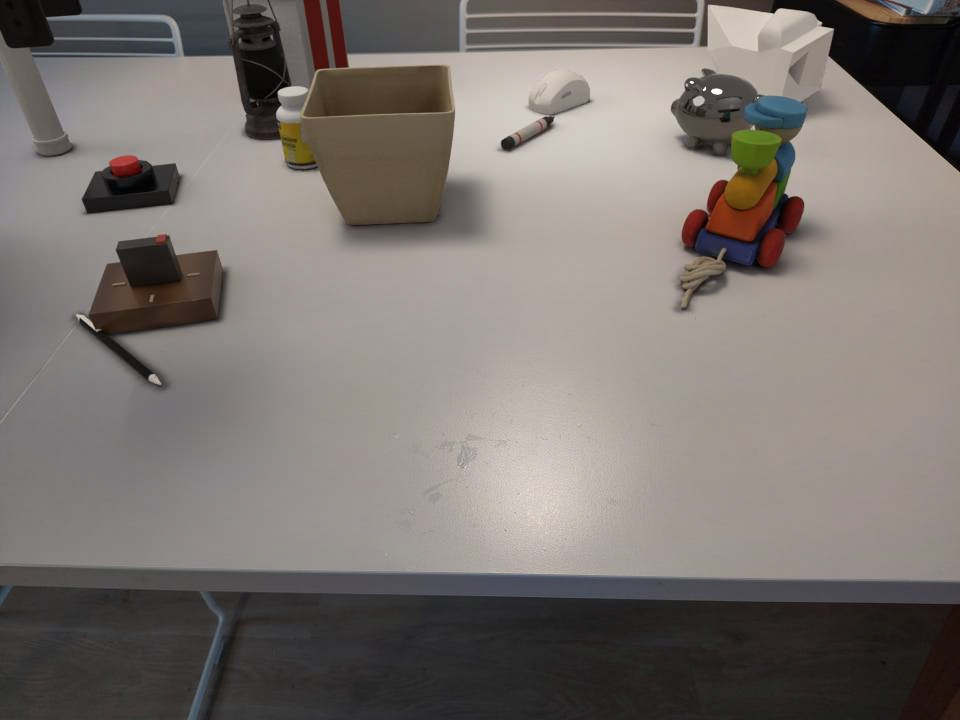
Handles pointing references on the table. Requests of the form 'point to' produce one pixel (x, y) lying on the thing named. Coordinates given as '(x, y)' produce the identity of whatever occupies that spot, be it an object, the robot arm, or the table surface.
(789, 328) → the table surface
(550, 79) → the computer mouse
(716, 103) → the piggy bank
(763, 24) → the white angular block
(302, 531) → the table surface
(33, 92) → the pipe
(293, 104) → the pill bottle
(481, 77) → the table surface
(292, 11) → the red white striped box
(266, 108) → the lantern
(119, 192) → the black button base
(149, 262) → the dial knob
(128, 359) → the pen
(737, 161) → the toy train
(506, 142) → the marker
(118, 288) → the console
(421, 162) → the flower pot
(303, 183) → the table surface
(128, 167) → the button
